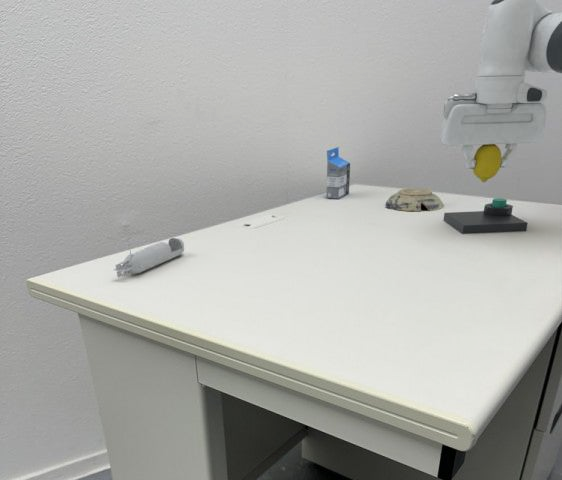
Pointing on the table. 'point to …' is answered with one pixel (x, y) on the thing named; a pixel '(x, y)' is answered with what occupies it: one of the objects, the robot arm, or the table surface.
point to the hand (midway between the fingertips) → (486, 167)
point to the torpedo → (150, 257)
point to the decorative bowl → (414, 200)
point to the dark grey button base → (486, 220)
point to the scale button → (499, 203)
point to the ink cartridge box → (337, 175)
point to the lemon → (487, 161)
